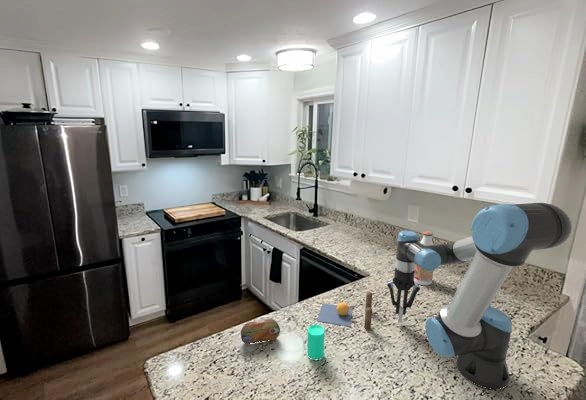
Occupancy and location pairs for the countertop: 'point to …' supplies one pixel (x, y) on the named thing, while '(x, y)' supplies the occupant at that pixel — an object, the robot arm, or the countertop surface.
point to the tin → (260, 331)
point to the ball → (342, 308)
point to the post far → (368, 300)
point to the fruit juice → (421, 274)
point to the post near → (368, 318)
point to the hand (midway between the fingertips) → (399, 320)
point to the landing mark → (334, 315)
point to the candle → (315, 341)
